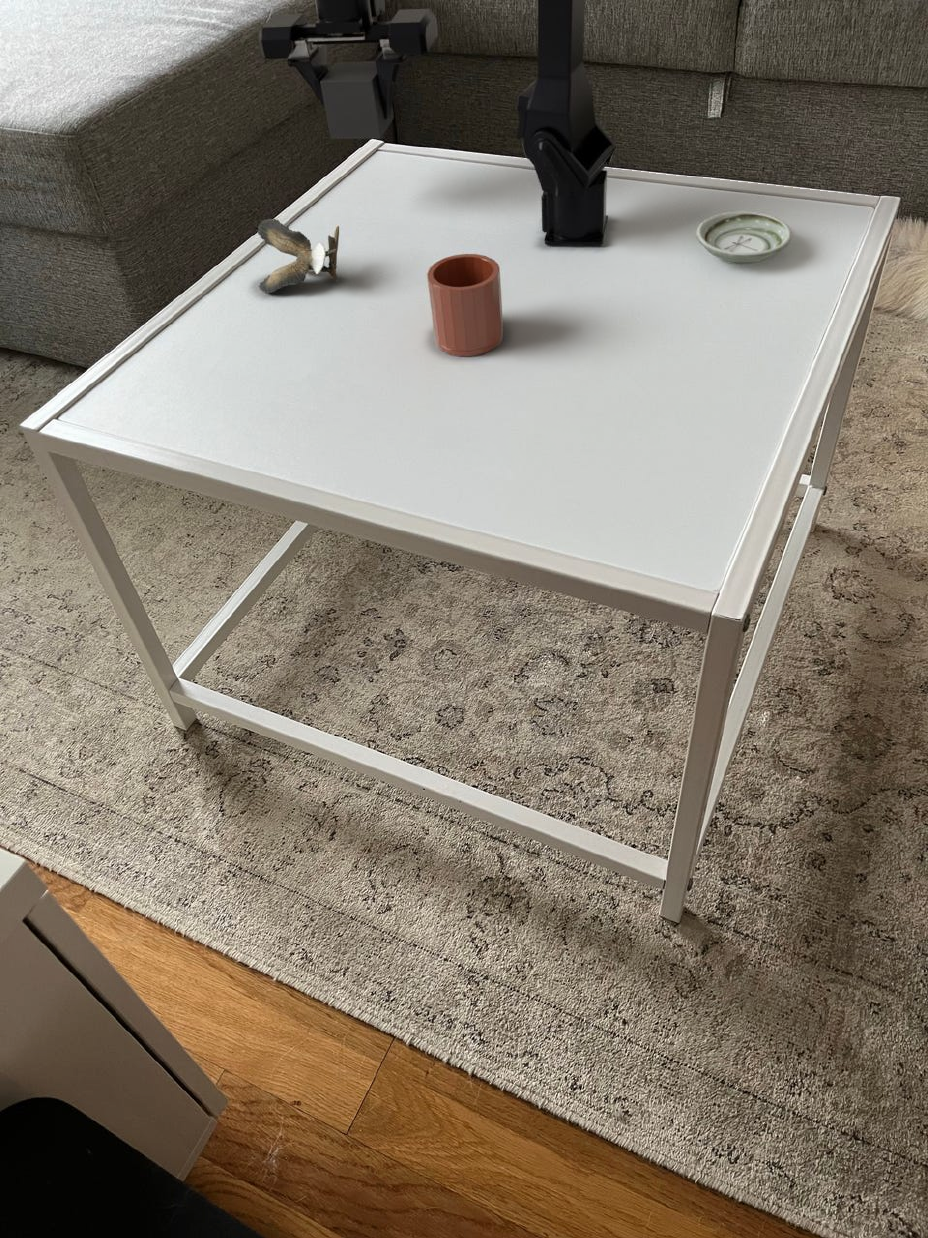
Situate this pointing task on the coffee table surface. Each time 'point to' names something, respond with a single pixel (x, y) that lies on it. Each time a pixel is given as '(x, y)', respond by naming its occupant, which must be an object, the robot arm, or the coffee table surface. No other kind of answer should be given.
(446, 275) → the cup
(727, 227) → the saucer
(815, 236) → the coffee table surface
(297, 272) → the eagle figurine
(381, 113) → the block
